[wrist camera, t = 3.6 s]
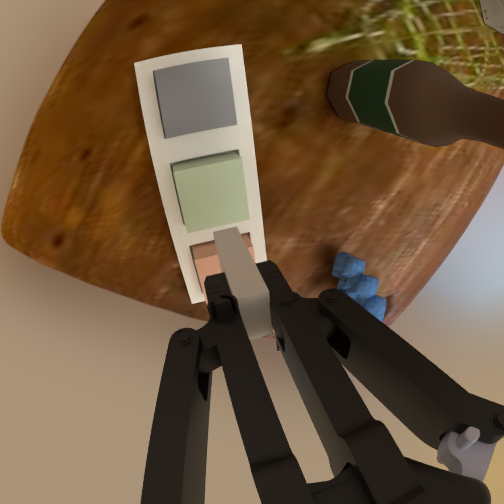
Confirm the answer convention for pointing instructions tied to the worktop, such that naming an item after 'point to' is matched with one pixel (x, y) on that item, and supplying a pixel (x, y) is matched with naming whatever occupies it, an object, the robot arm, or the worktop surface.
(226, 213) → the sage button
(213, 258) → the terracotta button
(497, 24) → the supplement box
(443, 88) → the beer bottle
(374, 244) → the worktop surface
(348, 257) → the grapes
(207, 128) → the charcoal button
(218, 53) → the console
